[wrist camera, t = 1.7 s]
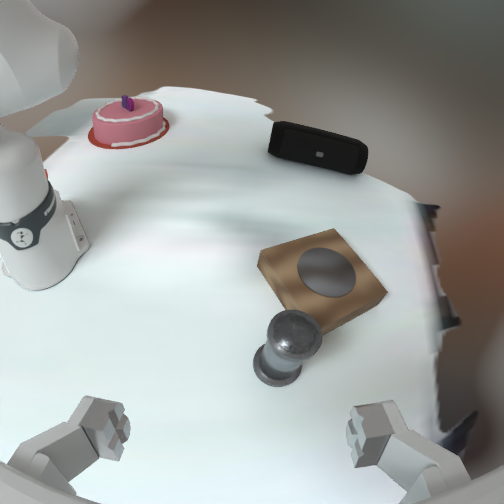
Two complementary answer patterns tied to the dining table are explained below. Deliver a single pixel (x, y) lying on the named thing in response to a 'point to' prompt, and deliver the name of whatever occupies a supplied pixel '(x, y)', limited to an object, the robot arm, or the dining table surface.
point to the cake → (128, 123)
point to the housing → (287, 347)
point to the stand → (321, 278)
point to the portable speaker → (318, 147)
